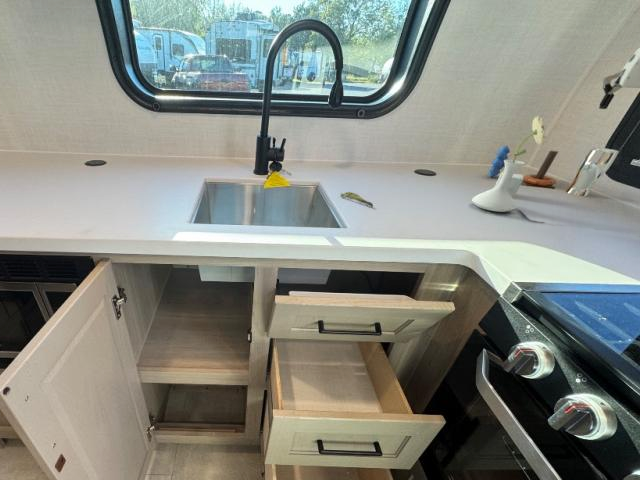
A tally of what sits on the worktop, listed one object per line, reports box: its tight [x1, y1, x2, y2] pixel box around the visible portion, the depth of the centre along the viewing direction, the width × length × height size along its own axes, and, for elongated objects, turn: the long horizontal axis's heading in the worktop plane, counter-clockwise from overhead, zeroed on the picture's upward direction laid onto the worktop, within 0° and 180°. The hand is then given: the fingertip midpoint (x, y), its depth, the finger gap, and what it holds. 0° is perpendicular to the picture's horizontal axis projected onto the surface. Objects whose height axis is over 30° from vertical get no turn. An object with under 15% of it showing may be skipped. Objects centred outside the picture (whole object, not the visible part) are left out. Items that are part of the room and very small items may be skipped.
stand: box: [520, 149, 559, 190], centre depth 116 cm, size 9×9×12 cm
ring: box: [523, 174, 558, 186], centre depth 118 cm, size 10×10×2 cm
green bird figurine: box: [339, 191, 374, 209], centre depth 101 cm, size 4×13×2 cm, turn 32°
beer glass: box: [565, 147, 620, 197], centre depth 106 cm, size 7×7×15 cm
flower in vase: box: [471, 115, 547, 213], centre depth 91 cm, size 13×11×25 cm
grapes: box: [488, 145, 511, 178], centre depth 124 cm, size 12×7×12 cm, turn 134°
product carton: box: [494, 171, 524, 199], centre depth 105 cm, size 6×6×7 cm
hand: (620, 109), depth 102 cm, fingers open, 9 cm apart
